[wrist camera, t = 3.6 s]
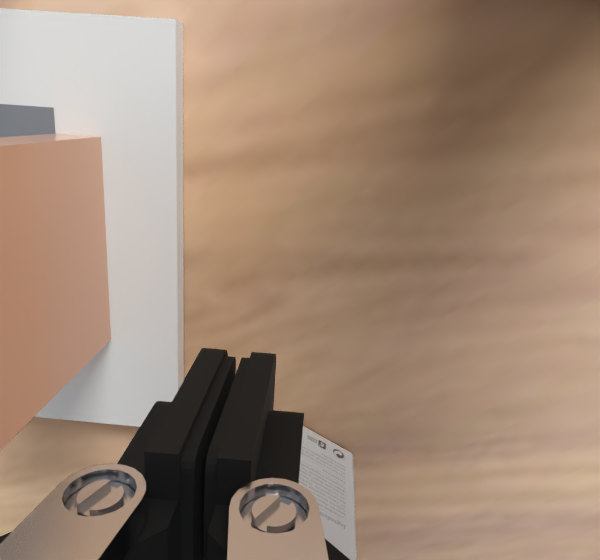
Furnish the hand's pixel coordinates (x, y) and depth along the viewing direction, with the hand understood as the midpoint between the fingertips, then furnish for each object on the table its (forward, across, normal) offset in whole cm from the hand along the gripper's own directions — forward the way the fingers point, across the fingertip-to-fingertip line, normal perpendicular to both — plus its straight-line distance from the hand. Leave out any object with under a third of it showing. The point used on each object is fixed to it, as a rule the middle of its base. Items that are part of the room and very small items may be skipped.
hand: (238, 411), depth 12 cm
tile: (+11, +8, -1) cm, 14 cm away
